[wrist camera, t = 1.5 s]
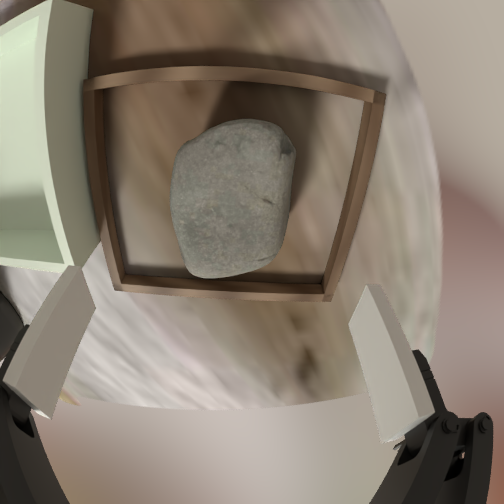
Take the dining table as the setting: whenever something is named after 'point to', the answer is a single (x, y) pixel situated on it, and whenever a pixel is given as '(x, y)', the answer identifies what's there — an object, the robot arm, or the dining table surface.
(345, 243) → the frame
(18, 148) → the bin
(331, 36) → the dining table surface
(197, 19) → the dining table surface
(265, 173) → the stone
